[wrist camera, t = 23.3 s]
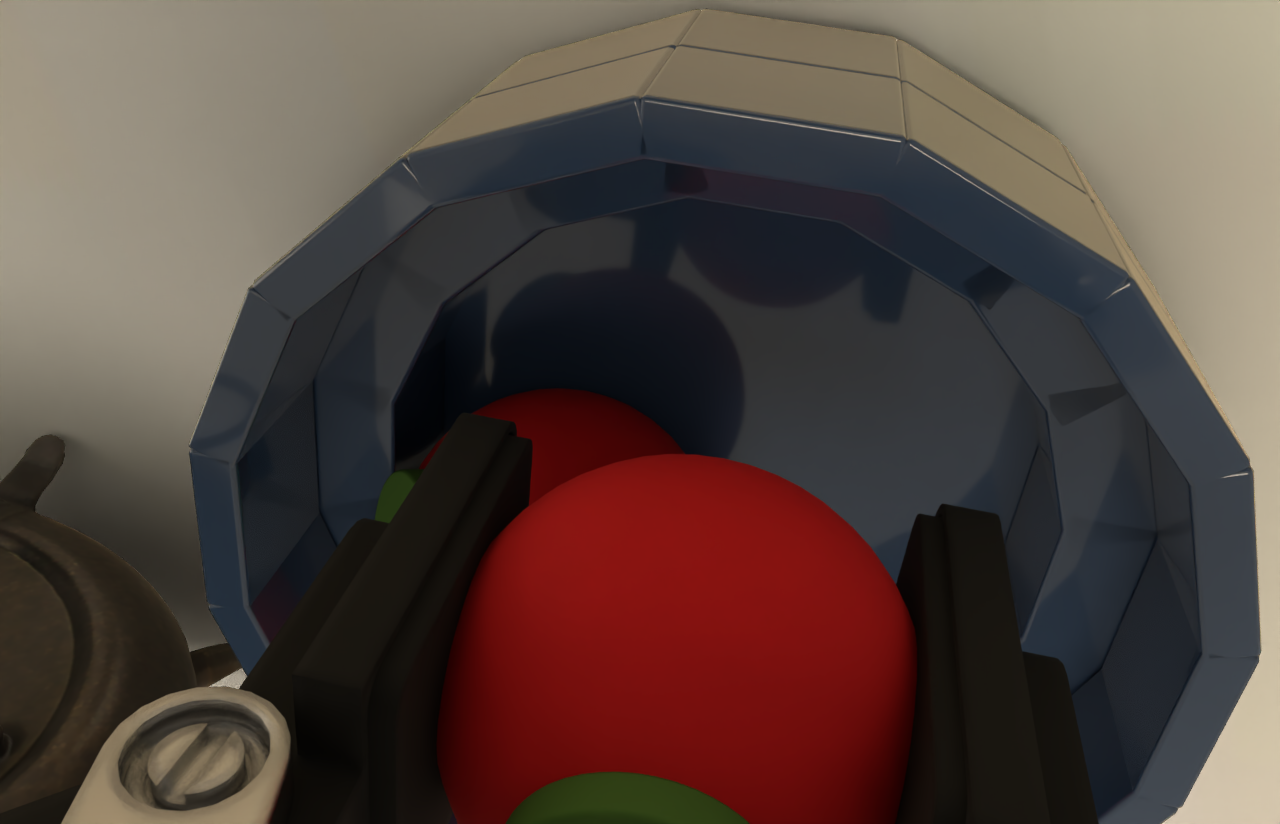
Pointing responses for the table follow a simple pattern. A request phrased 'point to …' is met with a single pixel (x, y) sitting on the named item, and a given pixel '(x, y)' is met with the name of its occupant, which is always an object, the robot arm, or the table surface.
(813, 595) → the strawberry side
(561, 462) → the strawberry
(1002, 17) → the table surface
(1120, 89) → the table surface
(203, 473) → the bowl
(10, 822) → the robot arm
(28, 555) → the alarm clock
